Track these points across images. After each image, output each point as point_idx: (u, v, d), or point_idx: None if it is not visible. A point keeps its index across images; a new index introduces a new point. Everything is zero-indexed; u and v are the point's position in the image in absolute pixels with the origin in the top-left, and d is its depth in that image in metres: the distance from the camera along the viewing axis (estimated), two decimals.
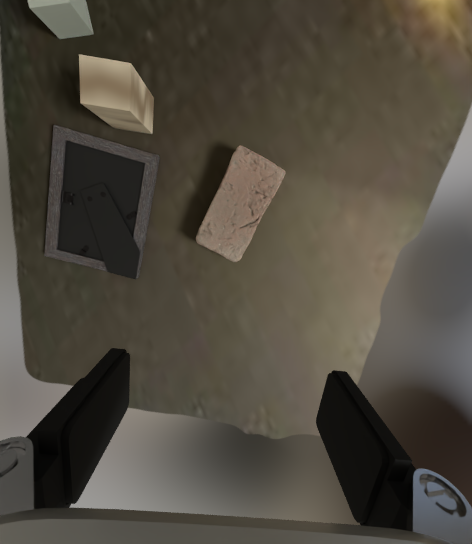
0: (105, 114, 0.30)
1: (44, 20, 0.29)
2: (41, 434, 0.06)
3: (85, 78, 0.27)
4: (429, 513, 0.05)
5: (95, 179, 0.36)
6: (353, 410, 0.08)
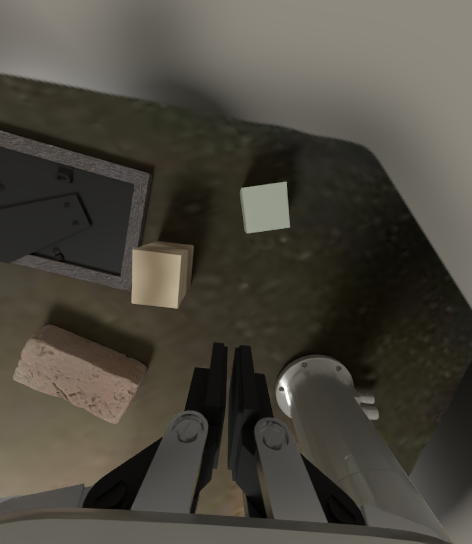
0: None
1: (241, 192, 0.26)
2: (208, 408, 0.07)
3: (158, 258, 0.23)
4: (272, 463, 0.06)
5: (95, 214, 0.29)
6: (237, 375, 0.09)
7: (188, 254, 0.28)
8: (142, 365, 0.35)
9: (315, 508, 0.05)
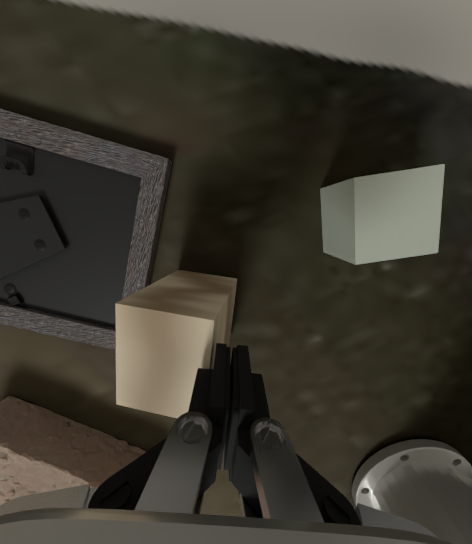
0: None
1: (339, 188, 0.14)
2: (212, 409, 0.07)
3: (166, 324, 0.11)
4: (268, 464, 0.06)
5: (74, 230, 0.17)
6: None
7: (228, 301, 0.15)
8: None
9: (310, 508, 0.05)
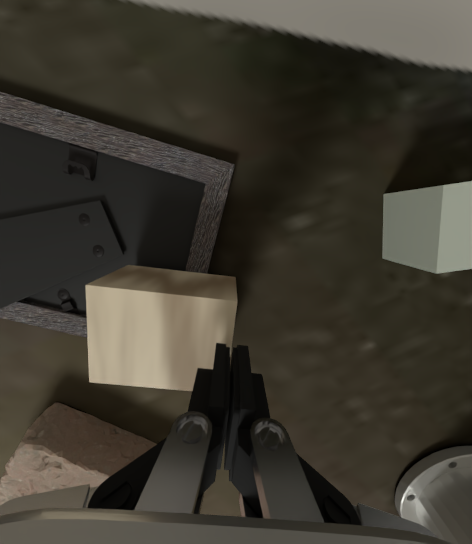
0: None
1: (416, 194, 0.14)
2: (212, 409, 0.07)
3: None
4: (269, 464, 0.06)
5: (132, 235, 0.17)
6: None
7: (167, 305, 0.12)
8: None
9: (310, 509, 0.05)
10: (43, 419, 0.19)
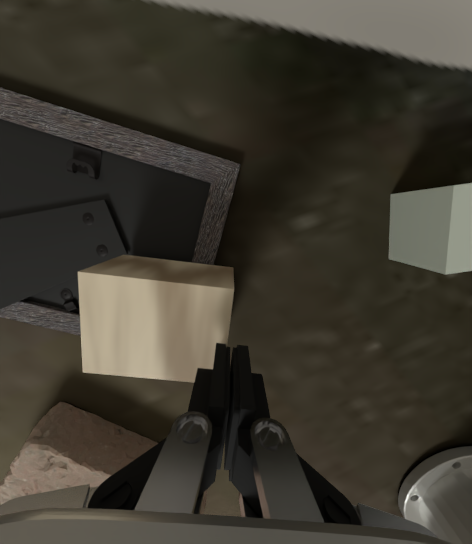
0: None
1: (424, 195, 0.14)
2: (212, 409, 0.07)
3: None
4: (269, 463, 0.06)
5: (136, 235, 0.17)
6: None
7: (162, 292, 0.12)
8: None
9: (310, 509, 0.05)
10: (48, 418, 0.19)
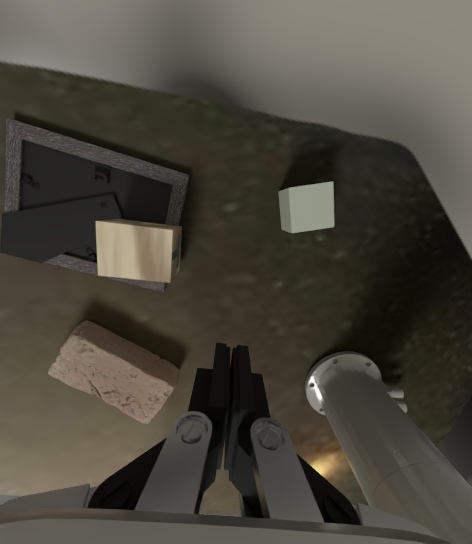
0: None
1: (284, 192, 0.26)
2: (212, 409, 0.07)
3: None
4: (269, 464, 0.06)
5: (131, 215, 0.29)
6: None
7: (137, 231, 0.24)
8: (175, 367, 0.35)
9: (310, 509, 0.05)
10: (81, 326, 0.31)
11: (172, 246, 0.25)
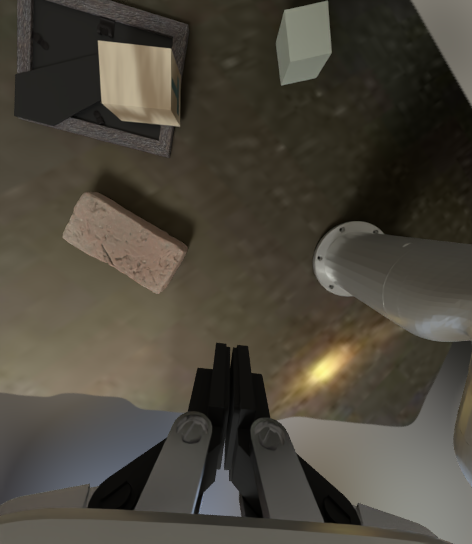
0: None
1: (281, 27, 0.27)
2: (212, 409, 0.07)
3: None
4: (269, 463, 0.06)
5: None
6: None
7: (137, 51, 0.25)
8: (184, 244, 0.36)
9: (310, 508, 0.05)
10: None
11: (171, 70, 0.26)
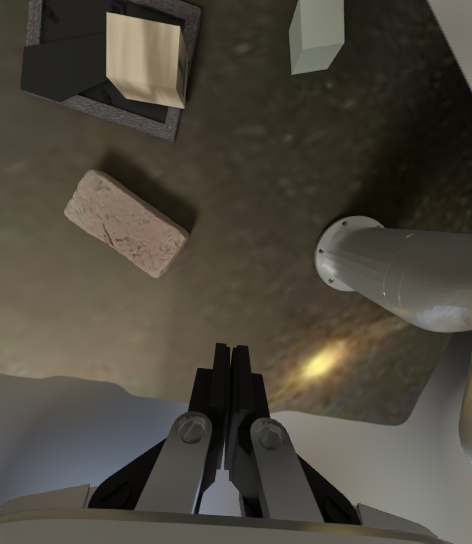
0: None
1: (295, 14, 0.27)
2: (212, 409, 0.07)
3: None
4: (269, 463, 0.06)
5: None
6: None
7: (146, 27, 0.25)
8: None
9: (310, 509, 0.05)
10: (98, 171, 0.32)
11: (179, 48, 0.26)
